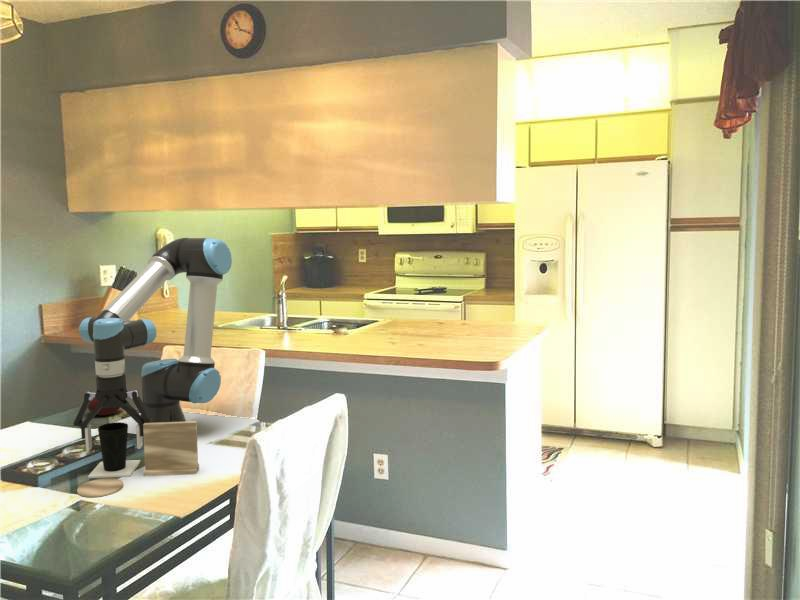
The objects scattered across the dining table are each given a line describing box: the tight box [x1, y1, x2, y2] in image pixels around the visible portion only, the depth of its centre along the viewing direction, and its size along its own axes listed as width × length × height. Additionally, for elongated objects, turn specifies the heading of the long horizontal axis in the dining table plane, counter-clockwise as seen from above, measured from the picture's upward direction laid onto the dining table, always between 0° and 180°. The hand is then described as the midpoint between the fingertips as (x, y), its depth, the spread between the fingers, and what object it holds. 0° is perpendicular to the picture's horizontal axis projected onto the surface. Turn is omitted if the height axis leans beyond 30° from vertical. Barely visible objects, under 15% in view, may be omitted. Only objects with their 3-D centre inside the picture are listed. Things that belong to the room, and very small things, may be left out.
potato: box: [87, 397, 121, 417], centre depth 236 cm, size 12×11×8 cm
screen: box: [143, 420, 200, 477], centre depth 183 cm, size 5×14×14 cm, turn 98°
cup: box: [97, 421, 129, 472], centre depth 183 cm, size 8×8×12 cm
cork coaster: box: [76, 477, 124, 498], centre depth 171 cm, size 11×11×1 cm
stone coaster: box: [87, 459, 141, 479], centre depth 184 cm, size 11×11×1 cm
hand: (114, 448), depth 184 cm, fingers open, 13 cm apart
